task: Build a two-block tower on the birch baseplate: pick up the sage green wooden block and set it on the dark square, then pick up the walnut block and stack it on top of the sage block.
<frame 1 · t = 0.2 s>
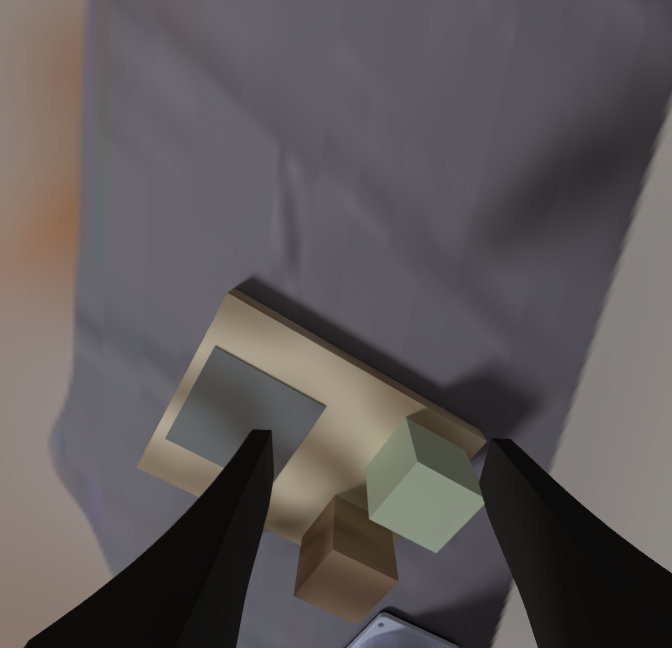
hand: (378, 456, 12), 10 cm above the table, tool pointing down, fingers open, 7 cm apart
walnut block: (345, 530, 25), point 1 cm above the table, touching baseplate
sage block: (414, 459, 23), point 1 cm above the table, touching baseplate
baseplate: (307, 443, 24), on the table
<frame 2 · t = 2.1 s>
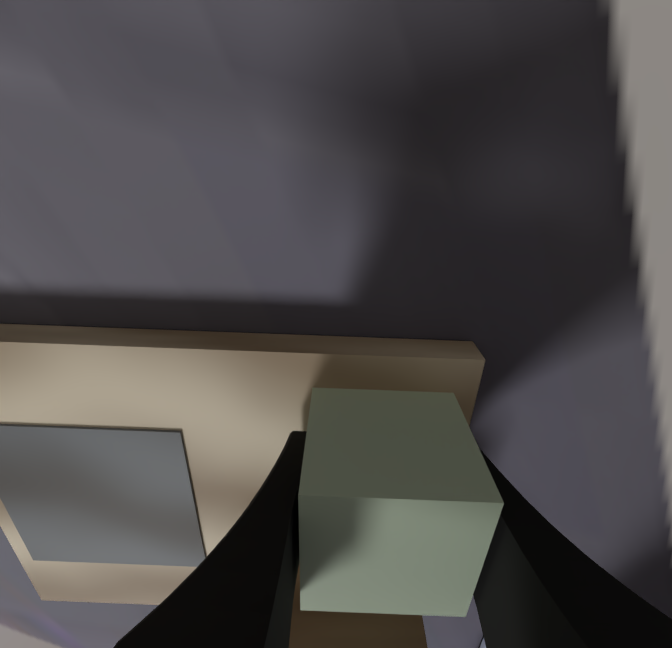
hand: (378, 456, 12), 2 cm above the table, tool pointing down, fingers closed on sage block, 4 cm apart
walnut block: (351, 574, 16), point 1 cm above the table, touching baseplate
sage block: (377, 443, 12), point 1 cm above the table, touching baseplate, gripper
baseplate: (224, 480, 15), on the table
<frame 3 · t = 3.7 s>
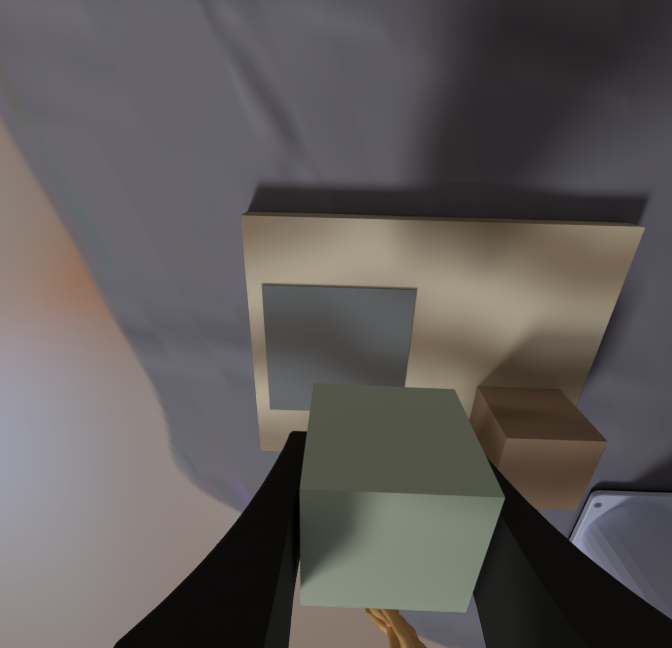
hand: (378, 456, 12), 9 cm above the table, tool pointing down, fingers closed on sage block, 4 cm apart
walnut block: (508, 419, 21), point 1 cm above the table, touching baseplate
sage block: (377, 440, 12), point 8 cm above the table, touching gripper
baseplate: (417, 345, 20), on the table
figurine: (368, 492, 26), on the table
when the fingers open (3 cm above the table, at t = 5.5 s): sage block stays where it is, resting on baseplate.
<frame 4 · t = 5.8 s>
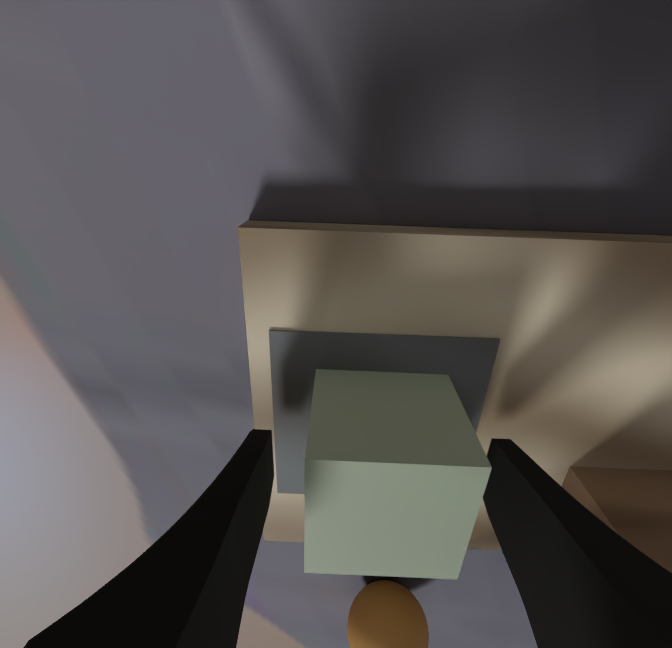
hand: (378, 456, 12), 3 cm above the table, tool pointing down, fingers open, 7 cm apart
walnut block: (606, 508, 15), point 1 cm above the table, touching baseplate
sage block: (376, 423, 13), point 1 cm above the table, touching baseplate
baseplate: (485, 407, 14), on the table
figurine: (401, 579, 20), on the table
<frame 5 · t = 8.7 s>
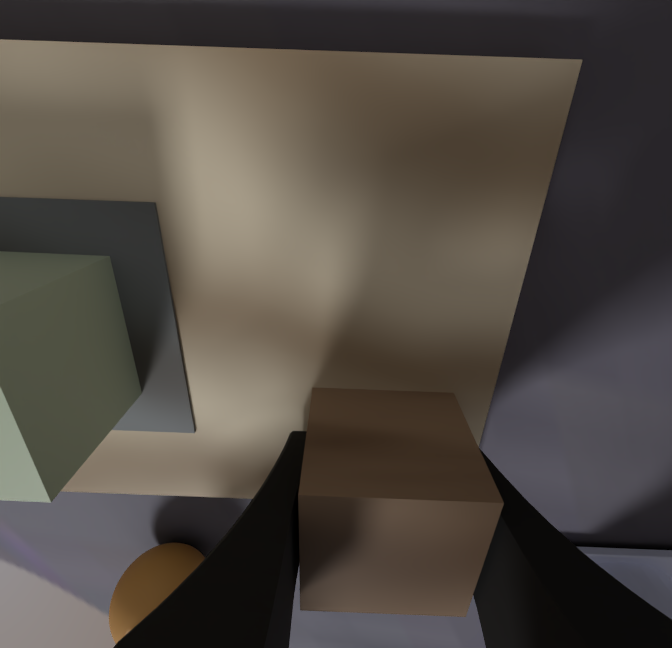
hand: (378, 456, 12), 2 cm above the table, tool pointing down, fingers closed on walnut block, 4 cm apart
walnut block: (377, 443, 12), point 1 cm above the table, touching baseplate, gripper
sage block: (51, 327, 11), point 1 cm above the table, touching baseplate
baseplate: (216, 318, 12), on the table
figurine: (204, 543, 17), on the table
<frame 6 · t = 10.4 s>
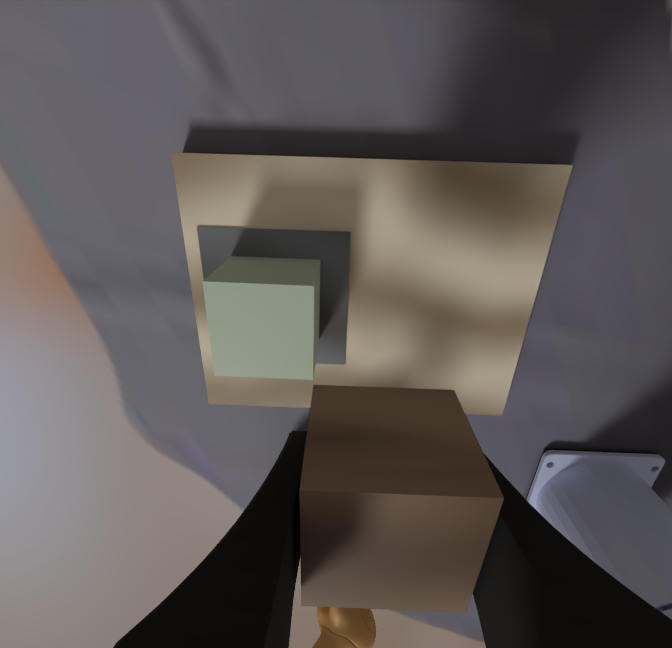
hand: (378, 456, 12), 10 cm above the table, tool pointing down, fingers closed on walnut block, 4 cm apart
walnut block: (377, 440, 13), point 9 cm above the table, touching gripper
sage block: (277, 299, 19), point 1 cm above the table, touching baseplate
baseplate: (360, 295, 20), on the table
figurine: (322, 452, 26), on the table
when the fingers open (7 cm above the table, at t = 11.9 s): walnut block stays where it is, resting on sage block.
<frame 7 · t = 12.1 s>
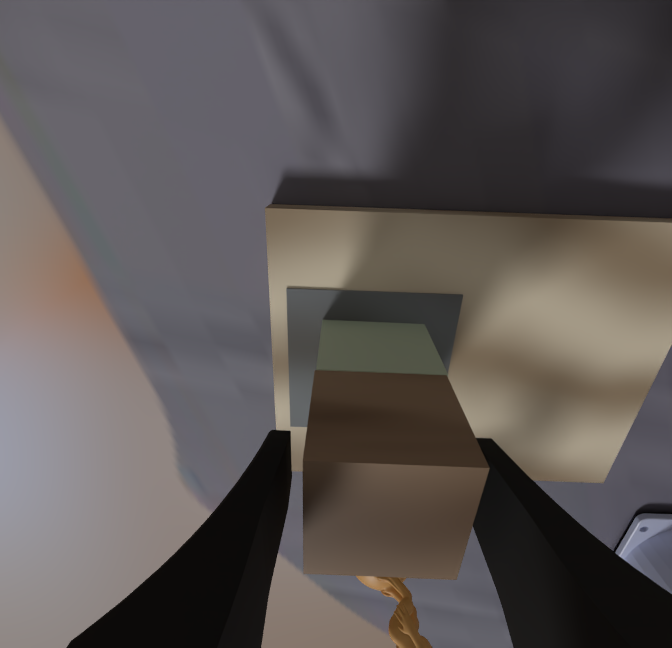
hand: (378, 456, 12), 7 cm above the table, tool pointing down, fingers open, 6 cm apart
walnut block: (375, 424, 13), point 5 cm above the table, touching sage block
sage block: (369, 365, 17), point 1 cm above the table, touching baseplate, walnut block
baseplate: (456, 356, 18), on the table
figurine: (392, 513, 23), on the table
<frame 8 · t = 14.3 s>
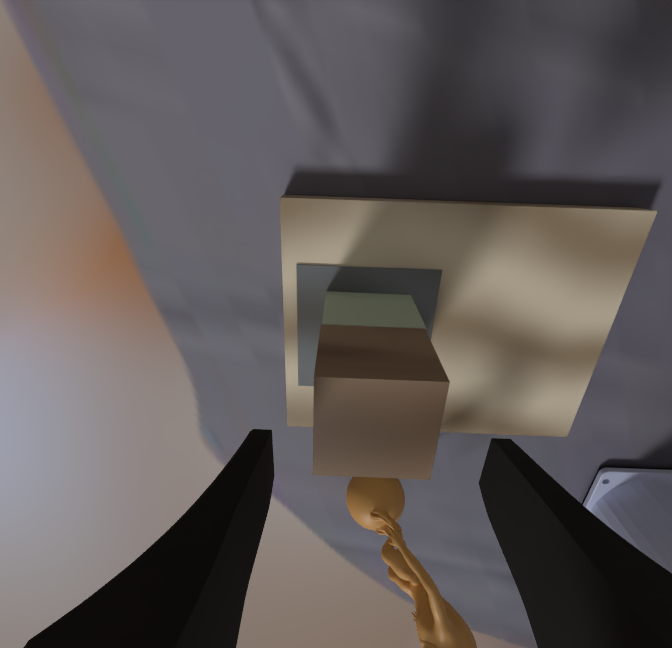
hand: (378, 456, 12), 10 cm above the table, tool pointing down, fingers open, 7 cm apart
walnut block: (369, 370, 16), point 5 cm above the table, touching sage block
sage block: (365, 330, 20), point 1 cm above the table, touching baseplate, walnut block
baseplate: (439, 325, 21), on the table
figurine: (386, 469, 27), on the table
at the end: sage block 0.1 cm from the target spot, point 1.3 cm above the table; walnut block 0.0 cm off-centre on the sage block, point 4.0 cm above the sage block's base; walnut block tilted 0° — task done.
